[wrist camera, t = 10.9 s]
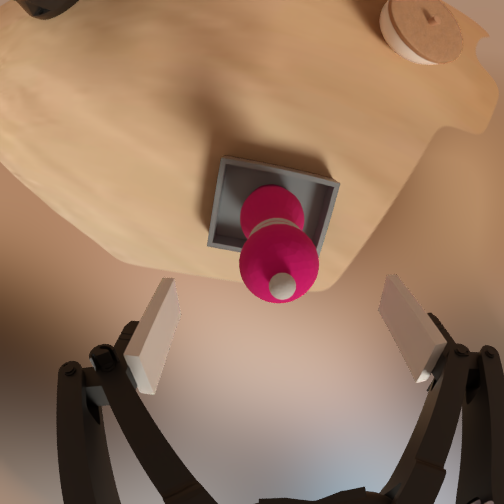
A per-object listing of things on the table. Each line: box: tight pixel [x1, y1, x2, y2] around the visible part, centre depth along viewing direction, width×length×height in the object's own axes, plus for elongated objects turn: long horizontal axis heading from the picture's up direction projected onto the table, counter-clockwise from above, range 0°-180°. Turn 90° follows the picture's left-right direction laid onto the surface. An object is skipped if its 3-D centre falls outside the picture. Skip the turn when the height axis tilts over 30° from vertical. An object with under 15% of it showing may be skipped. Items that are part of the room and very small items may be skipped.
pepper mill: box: [239, 184, 319, 303], centre depth 27 cm, size 7×7×20 cm
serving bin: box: [207, 155, 340, 258], centre depth 35 cm, size 14×11×4 cm
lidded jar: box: [379, 0, 463, 65], centre depth 21 cm, size 11×11×9 cm
